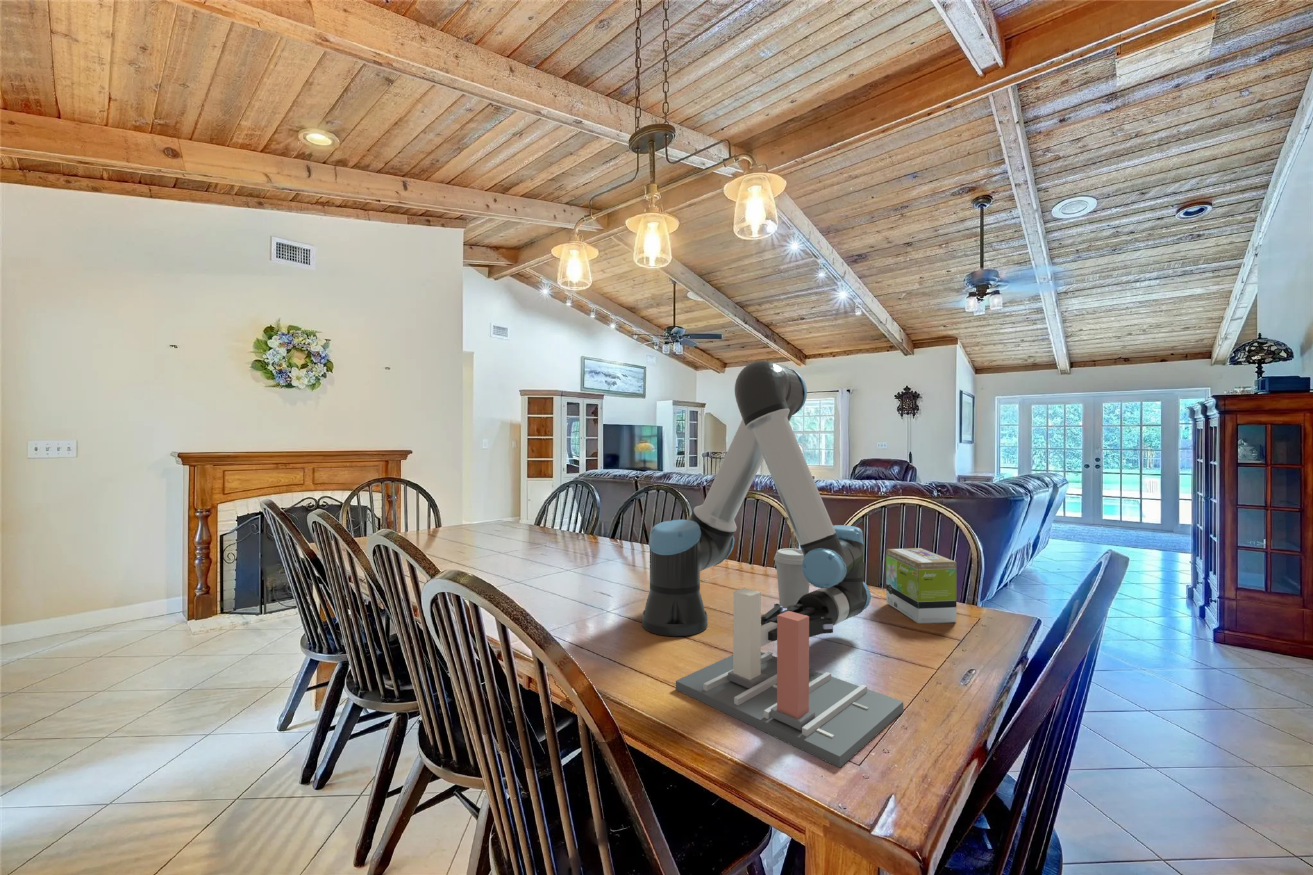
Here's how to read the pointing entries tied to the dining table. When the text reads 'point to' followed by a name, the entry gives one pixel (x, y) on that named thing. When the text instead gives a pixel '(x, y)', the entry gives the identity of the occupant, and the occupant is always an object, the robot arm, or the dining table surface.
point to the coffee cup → (790, 576)
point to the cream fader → (747, 639)
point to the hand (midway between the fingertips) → (753, 639)
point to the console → (838, 707)
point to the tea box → (921, 585)
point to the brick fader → (793, 670)
